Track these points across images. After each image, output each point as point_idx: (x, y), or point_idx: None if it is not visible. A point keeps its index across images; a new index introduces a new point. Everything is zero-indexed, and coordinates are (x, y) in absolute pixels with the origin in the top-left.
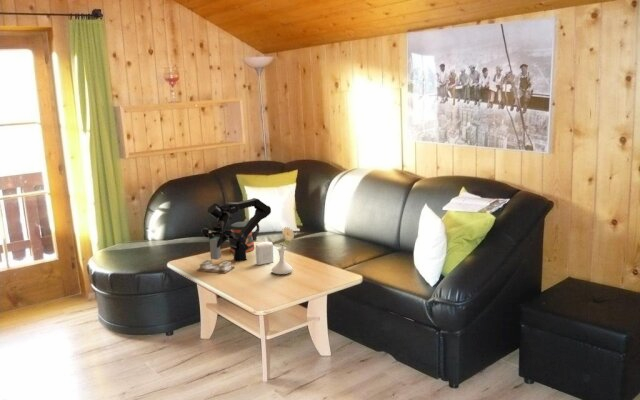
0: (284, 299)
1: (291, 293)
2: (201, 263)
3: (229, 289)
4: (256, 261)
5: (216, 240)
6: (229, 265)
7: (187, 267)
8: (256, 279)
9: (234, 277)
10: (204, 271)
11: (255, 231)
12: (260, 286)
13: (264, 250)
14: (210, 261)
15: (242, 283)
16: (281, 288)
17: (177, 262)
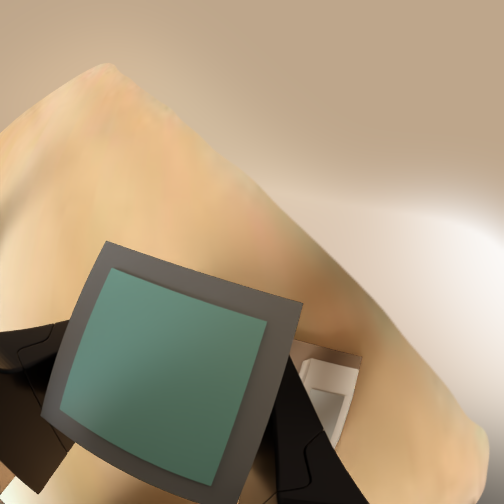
0: (46, 101)
1: (20, 127)
2: (345, 369)
3: (146, 119)
4: None
5: (102, 264)
6: None
7: (425, 416)
8: (41, 207)
9: (112, 232)
10: (305, 344)
11: None
12: (53, 150)
13: None
14: None
15: (93, 166)
16: (20, 147)
17: (474, 471)
